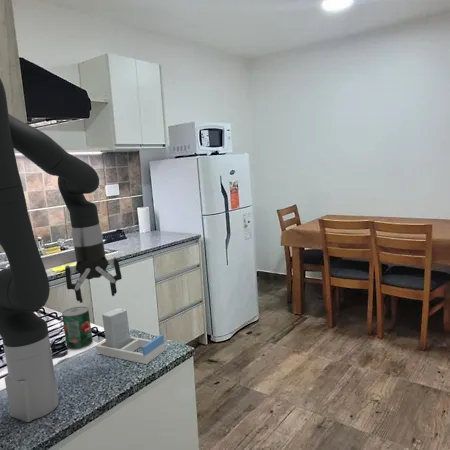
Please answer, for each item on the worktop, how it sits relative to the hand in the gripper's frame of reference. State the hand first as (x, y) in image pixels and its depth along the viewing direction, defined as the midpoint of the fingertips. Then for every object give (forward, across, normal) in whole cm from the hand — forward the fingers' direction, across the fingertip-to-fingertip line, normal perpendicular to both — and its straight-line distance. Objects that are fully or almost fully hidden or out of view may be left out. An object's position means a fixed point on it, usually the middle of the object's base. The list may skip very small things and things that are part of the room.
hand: (97, 298), depth 110 cm
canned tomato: (+20, -7, +16) cm, 26 cm away
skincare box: (+19, +4, +5) cm, 20 cm away
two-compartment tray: (+19, +7, +2) cm, 20 cm away
